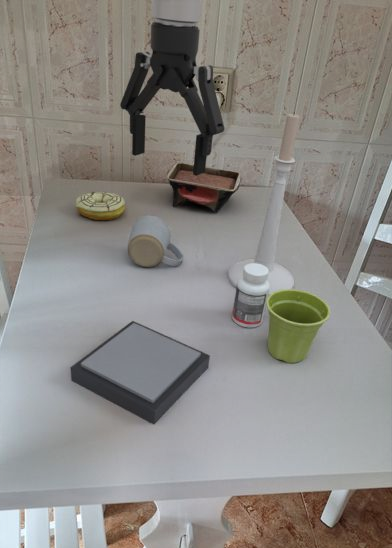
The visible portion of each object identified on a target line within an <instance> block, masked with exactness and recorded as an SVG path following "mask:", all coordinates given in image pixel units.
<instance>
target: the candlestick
mask: <svg viewBox="0 0 392 548" xmlns="http://www.w3.org/2000/svg"><path fill="white" fill-rule="evenodd" d="M300 118H301V117H300V115H299V114H296V113H295V112H293V113H287V115H286V119H285V123H284V129H283V134H282V138H281V139H282V140H281V144H280V150H279V154H278V155H275V156H274V157H273V159H274V160H275V166H274V169H275V171H276V177H275V178H274V180H273V185H272V189H271V193H270V198H269V201H268V206H267V210H266V214H265V218H264V222H263V226H262V230H261V235H260V239H259V243H258V246H257V250H256V255H255V258H249V259H244V260H240V261H238V262H236V263H234V264H232V265H231V266H230V268H229V269H228V271H227V278H228V281H229V283H230V284H231V285H232V286H233V287H234V288H236V287H237V282H238V280H239V278H240V277H242V276H243V269H244V266H245V265H247V264H250V263H257V264H261V265H264V266H265V267H267V268H268V271H269V272H268V278H267V281H268V282H269V284H270V290H269V294H268V296H269V295H270V294H272V293H273V292H276V291H279V290H285V289H293V290H294V286H295V278H294V276H293V275H292V274H291V272H290V271H289V270H288V269H287V268H285V267H284V266H283V265H281V264H279V263H277V262H274V261H275V256H276V249H277V242H278V236H279V229H280V224H281V217H282V210H283V204H284V197H285V191H286V186H287V180H286V179H287V176H288V173H289V172H290V171H291V170H292V165H293V164H294V163H296V159H295V158H294V157H293V156H292V155H293V151H294V147H295V142H296V137H297V131H298V127H299V123H300Z"/></svg>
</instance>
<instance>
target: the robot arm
mask: <svg viewBox="0 0 392 548" xmlns="http://www.w3.org/2000/svg"><path fill="white" fill-rule="evenodd" d="M202 4H203V0H151V5H150V6H151V7H150V16H151V17H152V19H154V21H152V23H151V24H150V45H149V46H150V49H151V51H152V53H150V51H139V52H136V54H135V56H134V66H133V70H132V72H131V75H130V78H129V80H128V83H127V85H126V87H125V91H124V93H123V96H122V98H121V101H120V103H119V106H120V109H121V110H124V111H126V112H127V113H128V115H129V133H130V135H132V137H131V139H132V140H131V141H132V142H131V149H132V150H131V155H132V156H134V157H136V156H139V155H143V154H145V152H146V120H147V119H146V118H147V117H146V116H147V115H146V114H144V111H145V109H146V108H147V107H148V105H149V104H150V102H151V101H152V100H153V98H154V97H155V96H156V95H157V93H158V92H159V91H160V89H161V90H169V91H171V92H173V93H179V95H180V97H181V98H183V99H184V101H185V103H186V105H187V108H188V110H189V112H190V114H191V116H192V118H193V120H194V122H195V124H196V127H197V128H198V131H199V134H196V136H195V146H194V158H193V165H194V168H193V175H195V176H197V175H200V174H202V173H204V172H205V168H206V166H207V158H208V156H210V155H211V153H212V146H213V138H214V136H215V135H218V134H222V133H224V131H225V125H224V121H223V117H222V113H221V112H222V111H221V109H220V105H219V101H218V97H217V93H216V89H215V84H214V67H213V66H212V65H210V64H209V65H208V64H207V65H197V61H196V59H197V55H198V52H199V45H200V43H199V42H200V30H201V29H199V26H197V24H198V23H200V21H201V15H202ZM150 68H151V71H152V74H151V75H150V77H149V78H148V80H147V81H146V84H145V86H144V83H145V80H146V78H147V75H148V73H149V71H150ZM194 79H195V80H196V81H198V83H197V84H198V87H197V84H196V83H195V80H194ZM143 86H144V87H143ZM142 88H143V89H142ZM198 92H200V95H199V93H198ZM200 96H201V97H200Z"/></svg>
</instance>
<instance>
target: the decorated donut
mask: <svg viewBox="0 0 392 548" xmlns="http://www.w3.org/2000/svg"><path fill="white" fill-rule="evenodd" d="M75 208H76V210H77V212H78V214H80V215H82V216H83V217H86V218H88V219H90V220H95V221H110V220H111V221H112V220H116V219H117V218H119V217H120V216H121V215H122V214H123V213H124V212H125V210H126V200H125V199H124V198H123V197H122V196H121V195H119V194H117V193H114V192H108V191H91V192H88V193H84V194H81V195H80V196H78V197H77V198H76V200H75Z"/></svg>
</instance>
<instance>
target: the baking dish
mask: <svg viewBox="0 0 392 548" xmlns="http://www.w3.org/2000/svg"><path fill="white" fill-rule="evenodd" d="M193 168H194V163H193V164H192V163H186V162H176V163H174V164H173V165H172V166H171V167H170V168H169V169H168V170H167V172H166V180H167V181H168V182H169V186H171V188H172V207H173V208H174V207H175V206H177V205H178V204H179V203H181V202H183V201H185V200H186V199H188V200H189V201H190V202H191V203H193V204H195V205H200V206H204V207H207V208H209V209H211V210H212V211H213V212H214V213H215V214H217V213H218V212H220V210H221V209H222V208H223V206H224V205H225V204H226V203H228V202H229V200H230V199H231V197H232V195H234V194H235V193H236V192H237V191H238V190H239V188H240V185H241V182H242V173H241V172H239V171H237V170H231V169H224V168H219V167H214V166H213V167H212V166H207V165H206V168H205V172H204V173H202V174H200V175H197V176H195V175H193Z"/></svg>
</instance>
